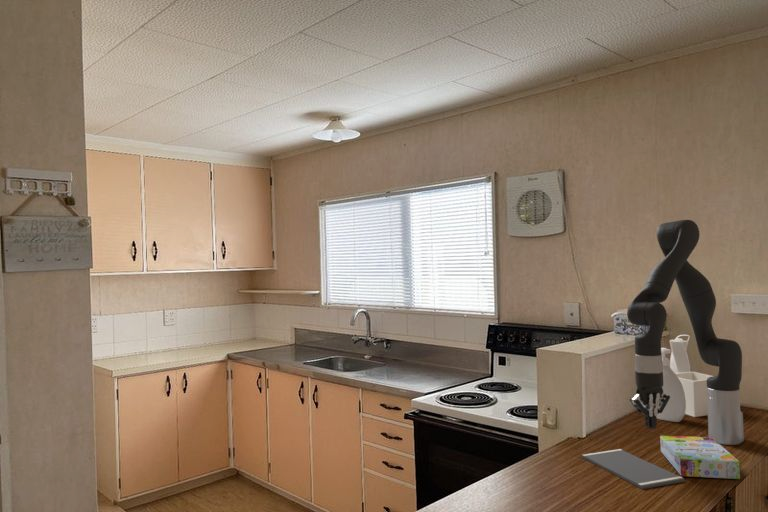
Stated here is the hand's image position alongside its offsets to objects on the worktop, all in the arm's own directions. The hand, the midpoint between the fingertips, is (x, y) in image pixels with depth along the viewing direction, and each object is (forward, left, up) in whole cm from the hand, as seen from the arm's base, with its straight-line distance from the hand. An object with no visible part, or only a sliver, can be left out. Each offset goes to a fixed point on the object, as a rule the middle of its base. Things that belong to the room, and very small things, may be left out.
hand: (651, 428), depth 167 cm
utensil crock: (-54, -38, -11) cm, 67 cm away
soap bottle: (-37, -34, -11) cm, 51 cm away
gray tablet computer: (+8, 0, -11) cm, 14 cm away
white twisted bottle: (-60, -51, -11) cm, 80 cm away
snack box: (-5, +1, -8) cm, 10 cm away
